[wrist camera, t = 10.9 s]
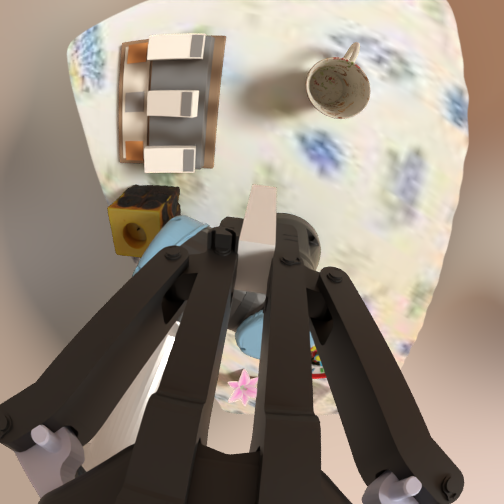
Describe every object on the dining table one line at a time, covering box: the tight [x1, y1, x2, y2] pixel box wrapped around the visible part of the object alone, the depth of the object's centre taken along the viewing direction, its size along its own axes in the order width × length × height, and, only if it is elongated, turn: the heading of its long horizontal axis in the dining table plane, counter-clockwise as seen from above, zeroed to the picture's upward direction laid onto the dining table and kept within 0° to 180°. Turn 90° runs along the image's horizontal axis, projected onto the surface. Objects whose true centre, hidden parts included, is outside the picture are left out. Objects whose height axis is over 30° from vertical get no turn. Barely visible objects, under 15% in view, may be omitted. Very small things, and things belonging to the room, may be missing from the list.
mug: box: [306, 42, 370, 119], centre depth 31 cm, size 8×13×10 cm, turn 159°
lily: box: [228, 369, 258, 406], centre depth 80 cm, size 12×12×10 cm
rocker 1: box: [147, 34, 206, 61], centre depth 30 cm, size 4×8×2 cm, turn 84°
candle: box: [107, 185, 181, 258], centre depth 47 cm, size 10×10×10 cm
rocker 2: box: [144, 146, 196, 173], centre depth 40 cm, size 4×8×2 cm, turn 83°
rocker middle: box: [147, 90, 199, 118], centre depth 35 cm, size 4×8×2 cm, turn 84°
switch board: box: [119, 36, 226, 169], centre depth 38 cm, size 23×18×4 cm
